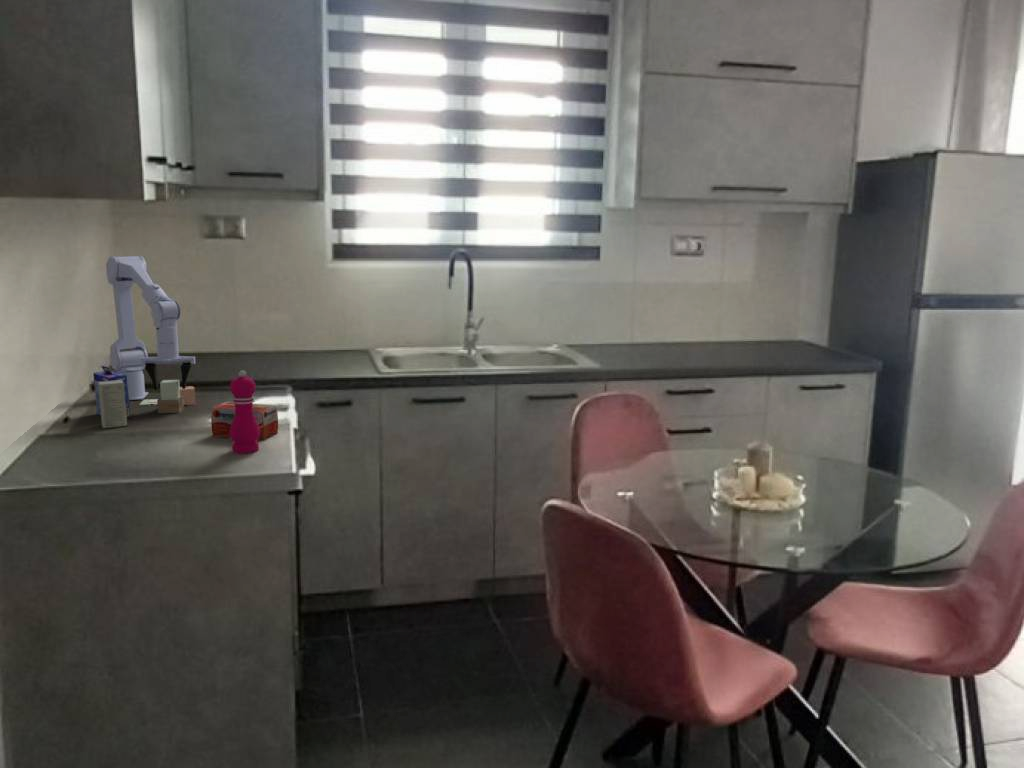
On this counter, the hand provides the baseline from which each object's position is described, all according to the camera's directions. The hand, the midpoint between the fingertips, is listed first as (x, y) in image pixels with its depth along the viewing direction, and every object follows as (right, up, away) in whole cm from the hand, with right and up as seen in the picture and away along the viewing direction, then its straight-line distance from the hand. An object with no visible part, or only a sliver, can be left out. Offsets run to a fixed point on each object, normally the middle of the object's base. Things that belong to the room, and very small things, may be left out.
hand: (170, 388), depth 253 cm
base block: (0, -7, +1) cm, 7 cm away
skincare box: (-8, -10, -18) cm, 22 cm away
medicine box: (+30, -13, -25) cm, 41 cm away
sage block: (0, -3, 0) cm, 3 cm away
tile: (-9, -4, +11) cm, 15 cm away
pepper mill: (+34, -15, -40) cm, 55 cm away
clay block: (+1, -5, +10) cm, 12 cm away
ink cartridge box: (-14, -8, -6) cm, 17 cm away
